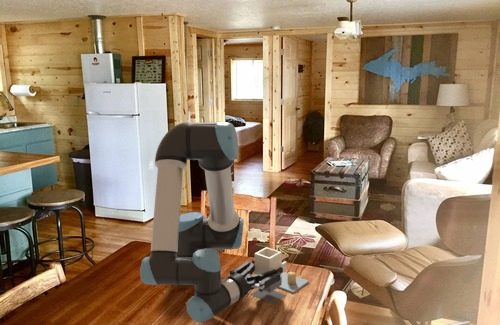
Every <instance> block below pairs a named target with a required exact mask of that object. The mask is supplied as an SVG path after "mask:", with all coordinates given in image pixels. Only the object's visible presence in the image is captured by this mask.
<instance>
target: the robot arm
mask: <svg viewBox="0 0 500 325" xmlns="http://www.w3.org/2000/svg"><path fill="white" fill-rule="evenodd" d="M239 150H240V148H239V139H238V134H237V130H236V128H235V126H234V124H233V123H231V122H224V121H223V122H222V121H217V122H191V121H190V122H188V121H187V122H181V123H177V124H175V125H174V126H173V127H172V128H170V129H169V130H168V131H166V133H165V134H164V136H163V137H162V139H161V141H160V142H159V144H158V147H157V150H156V152H155V158H154V166H155V167H156V168H157V175H156V183H155V184H156V187H155V197H154V208H153V221H152V222H153V223H152V229H151V230H152V232H151V242H150V244H151V245H150V255H149V256H146V257H143V259H142V260H141V265H140V268H139V276H140V277H139V278H140V280H141V282H142V283H143V284H145V285H156V286H161V285H167V286H170V285H171V286H173V285H174V286H175V285H178V286H193V288H194V295H193V296H191V297H190V298H188V300H187V302H186V312H187V314H188V316H189V317H190V318H191V320H192V321H194V322H196V323H197V324H202V323H204V322H207V321H208V320H210V319H213V318H214V317H215V316H216V315H218V314H220V313H221V312H222V311H224V310H225V309H227V308H228V307H230V306H232V305H233V304H234V303H236V302H238V301H240V300H241V299H242V298H245V297H246V296H247V295H248V294H249V292H250V291H252V290H255V289H257V290H258V289H259V291H260V292H262V291H263V290H264V289H265V288H267V287H269V286H271V285H272V284H274V283H276V282H278V281H280V274H281V273H283V272H284V271H286V270H287V269H288V268H287V264H288V263H287V261H285V260H283V262H282V263H281V264H279V265H278V266H276V267H274V268H273V270H272V271H269V272H266V273H262V274H259V275H258V274H255V259H252V261H249V260H247V261H246V262H244V263H243V264H241V265H240V266H238V267H237V268H234V269H232V270H230V271H229V276H227V277H226V278H224V279H222V278H221V277H222V275H221V271H222V266H221V262H220V261H221V260H220V254H219V252H218V251H217V250H229V251H232V250H238V249H240V248H241V246H242V243H243V233H244V232H243V231H244V221H245V220H244V218H243V217H241V216H239V214H238V212H237V211H236V210H235V203H234V202H235V200H234V191H233V179H232V170H231V169H232V168H231V167H232V166H233V165H234V163H235V160H238V158H239V153H240V152H239ZM188 160H190V161H196V160H197V161H198V165H199V167H200V168H201V169H203V170H204V175H205V184H206V191H207V196H208V198H207V199H208V203H209V204H208V205H209V211H210V213H209V214H208V217H205V216H204V214H203V213H202V212H199V211H198V212H197V211H193V212H187V213H184V214H181V204H182V190H183V189H182V188H183V175H184V173H183V172H184V170H185V169H186V168H187V166H188V165H187V164H188Z"/></svg>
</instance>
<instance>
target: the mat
mask: <svg viewBox="0 0 500 325" xmlns="http://www.w3.org/2000/svg"><path fill="white" fill-rule="evenodd" d="M250 295H251V296H254V297H256V298H258V299H260V300H262V301H265V302H268V303H270V304H272V305H275V304H276V303H278V302H280V301H281V300H283V298H285V297H287V295H286V294H284V293H281V292H279V291H276V290H273V291H272V292H267V291H265V290H263V291H262V292H260V291H259V289H258V288H257V289H256V290H255V291H253V292H252V293H250Z"/></svg>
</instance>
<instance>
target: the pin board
mask: <svg viewBox="0 0 500 325" xmlns="http://www.w3.org/2000/svg"><path fill="white" fill-rule="evenodd" d="M309 283H310V280H308V279H305V278H301V277H299V276H297V273H296V271H295V272H294V271H289V272H284V271H283V273H282V285H281V286H279V287H278V289H280V290H283V291H285V292H288V293H291V294H294V293H297V291H299V290H300V289H301V288H304V286H306V285H308V284H309Z"/></svg>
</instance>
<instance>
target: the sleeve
mask: <svg viewBox="0 0 500 325" xmlns="http://www.w3.org/2000/svg"><path fill="white" fill-rule="evenodd" d="M254 260H255V271H254V275H255V274H258V275H259V274H262V273H266V272H269V271H272V270H273V268H274V267H276V266H278V265H279V264H281V263H283V262H282V261H283V260H282V251H279V250H277V249H274V248H270V247H267V246H266V247H264V248H262V249H260V250H259V251H256V252H255V253H254ZM281 285H282V273H281V274H280V281H278V282H276V283H274V284H272V285H271V286H269V287H267V288H265V289H264V290H265V291H267V292H272V291H273V290H274V291H276V290H277V288H278V287H279V286H281ZM278 289H279V288H278Z"/></svg>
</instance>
